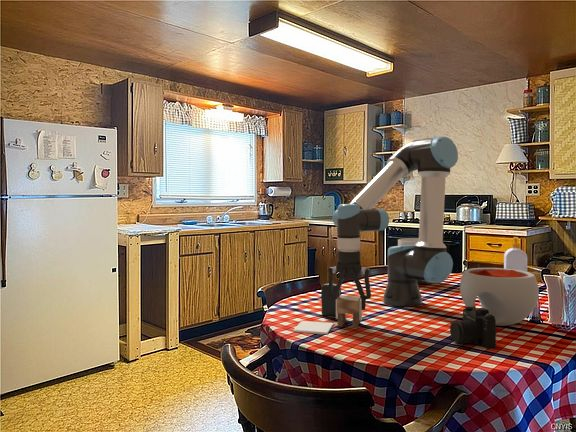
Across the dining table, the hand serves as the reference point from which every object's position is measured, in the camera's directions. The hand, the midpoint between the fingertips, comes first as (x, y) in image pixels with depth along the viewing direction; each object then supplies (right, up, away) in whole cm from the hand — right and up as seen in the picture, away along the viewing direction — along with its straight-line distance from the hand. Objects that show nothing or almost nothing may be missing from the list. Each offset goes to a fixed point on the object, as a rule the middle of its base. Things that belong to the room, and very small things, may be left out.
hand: (349, 318), depth 153 cm
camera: (+33, -3, -19) cm, 38 cm away
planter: (+44, +1, +72) cm, 84 cm away
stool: (0, -2, 0) cm, 2 cm away
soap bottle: (+87, +1, +63) cm, 108 cm away
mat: (-12, -2, -4) cm, 13 cm away
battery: (-5, -2, +13) cm, 14 cm away
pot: (+50, -2, +1) cm, 50 cm away
